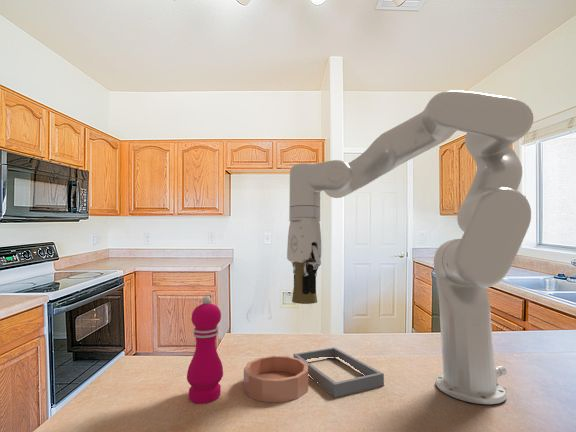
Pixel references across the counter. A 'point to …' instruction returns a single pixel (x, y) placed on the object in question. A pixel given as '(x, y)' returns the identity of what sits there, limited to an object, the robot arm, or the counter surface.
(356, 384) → the grey rectangular frame
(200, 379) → the pepper mill
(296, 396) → the bowl
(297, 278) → the olive pestle
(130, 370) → the counter surface
